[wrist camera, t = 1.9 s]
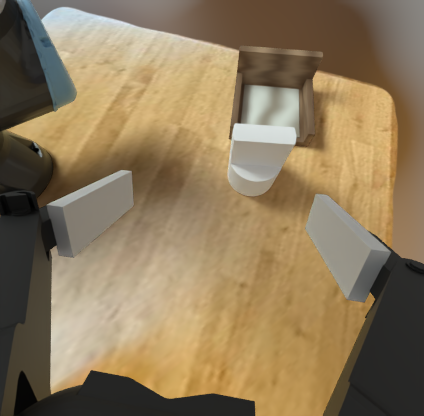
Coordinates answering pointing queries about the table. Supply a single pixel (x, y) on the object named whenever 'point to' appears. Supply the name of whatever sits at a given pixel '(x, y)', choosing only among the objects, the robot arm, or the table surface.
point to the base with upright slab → (258, 156)
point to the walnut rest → (276, 89)
